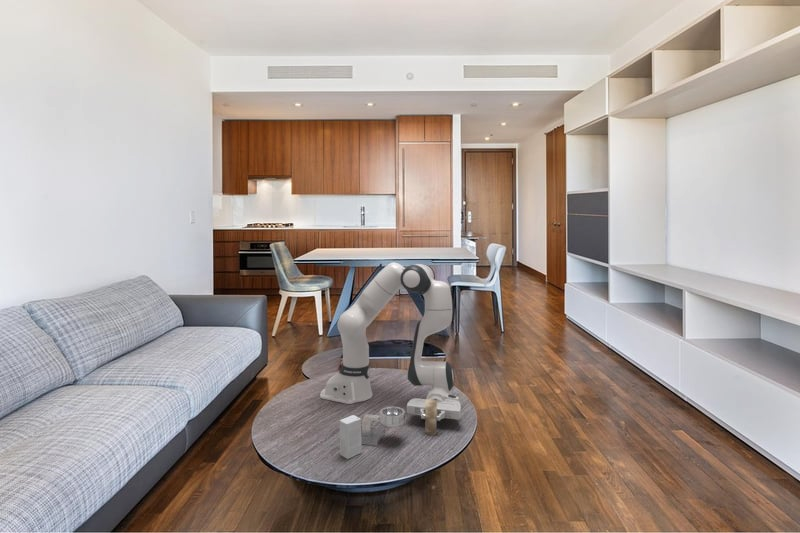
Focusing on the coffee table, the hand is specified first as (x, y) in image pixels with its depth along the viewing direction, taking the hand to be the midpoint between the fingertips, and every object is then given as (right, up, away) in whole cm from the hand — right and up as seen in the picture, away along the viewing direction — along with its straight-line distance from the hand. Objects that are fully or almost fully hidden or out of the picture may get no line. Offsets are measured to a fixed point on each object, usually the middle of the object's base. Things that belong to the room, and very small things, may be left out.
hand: (430, 417), depth 165 cm
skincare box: (-27, -8, -13) cm, 31 cm away
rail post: (0, -6, +2) cm, 6 cm away
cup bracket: (-18, -6, -3) cm, 20 cm away
